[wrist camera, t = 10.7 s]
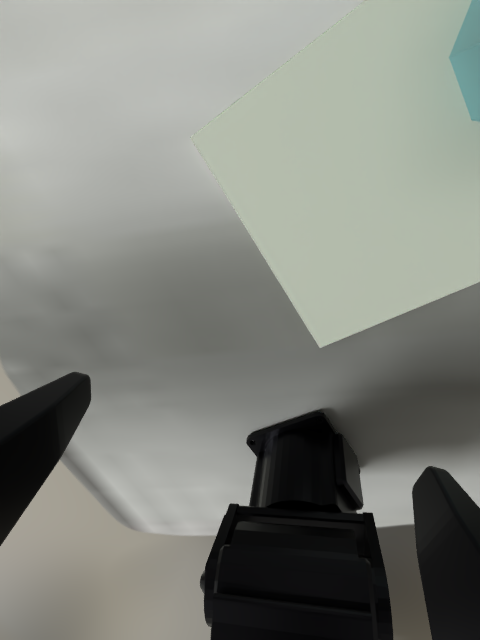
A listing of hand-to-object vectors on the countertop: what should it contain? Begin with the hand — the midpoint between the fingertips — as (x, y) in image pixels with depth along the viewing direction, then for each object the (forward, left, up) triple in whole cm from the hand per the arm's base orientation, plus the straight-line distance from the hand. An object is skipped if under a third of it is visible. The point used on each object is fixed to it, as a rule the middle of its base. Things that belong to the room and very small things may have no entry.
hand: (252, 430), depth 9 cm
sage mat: (+9, +1, -13) cm, 16 cm away
